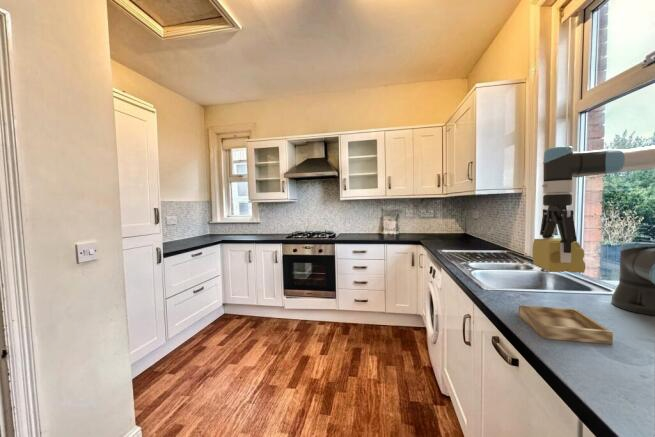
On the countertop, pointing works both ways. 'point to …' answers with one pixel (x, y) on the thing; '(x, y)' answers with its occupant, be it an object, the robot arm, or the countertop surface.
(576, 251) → the cheese
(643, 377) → the countertop surface
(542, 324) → the wooden tray
